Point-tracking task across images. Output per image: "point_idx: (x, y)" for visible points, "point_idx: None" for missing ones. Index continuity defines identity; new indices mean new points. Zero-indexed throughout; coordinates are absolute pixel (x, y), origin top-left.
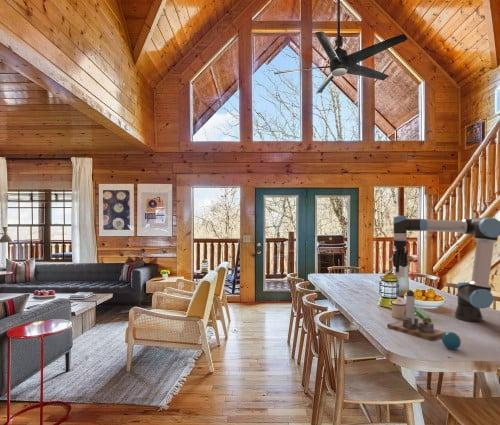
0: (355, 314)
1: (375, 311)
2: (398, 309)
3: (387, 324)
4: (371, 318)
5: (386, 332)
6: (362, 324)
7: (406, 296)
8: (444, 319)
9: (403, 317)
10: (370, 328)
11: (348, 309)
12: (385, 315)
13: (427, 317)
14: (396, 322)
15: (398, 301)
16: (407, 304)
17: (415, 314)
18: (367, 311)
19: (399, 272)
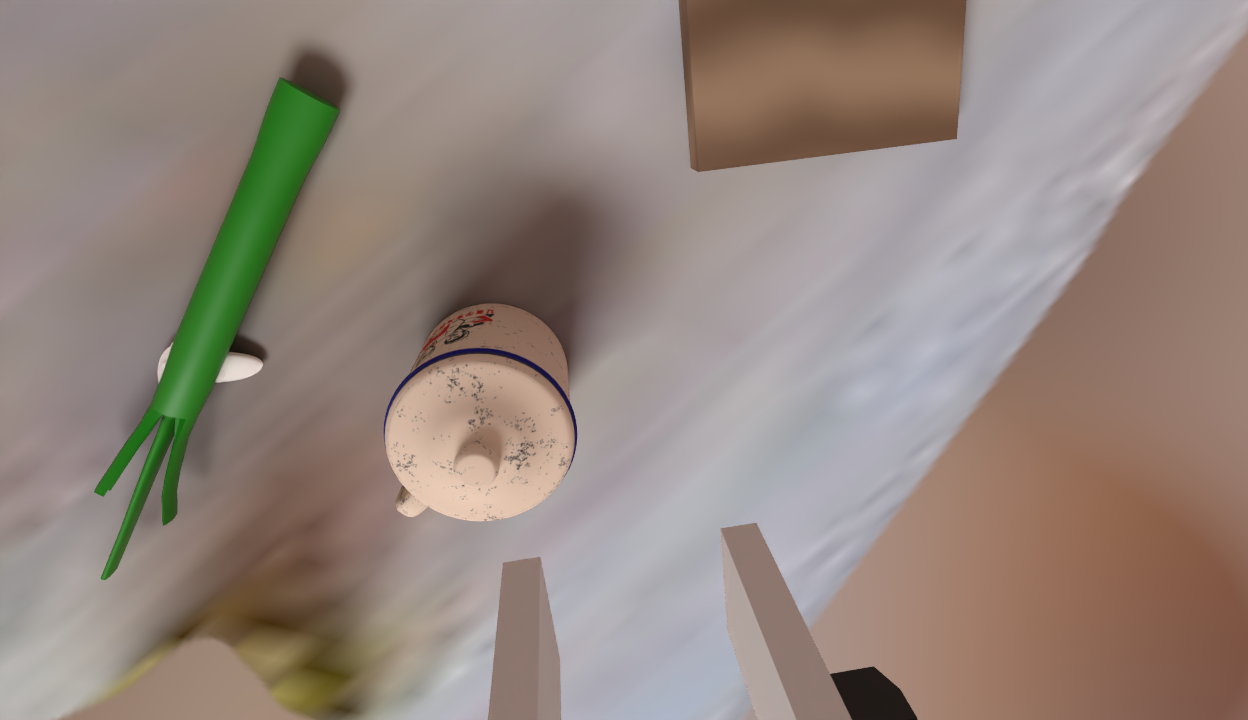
0: (816, 573)
1: (560, 592)
2: (553, 364)
3: (953, 137)
4: (799, 429)
5: (1090, 14)
6: (1038, 315)
7: None
8: (17, 68)
9: (506, 306)
10: (1092, 188)
11: (736, 706)
12: (585, 459)
13: (297, 118)
14: (821, 138)
15: (516, 432)
16: None
17: (249, 355)
18: (633, 614)
19: (818, 653)
